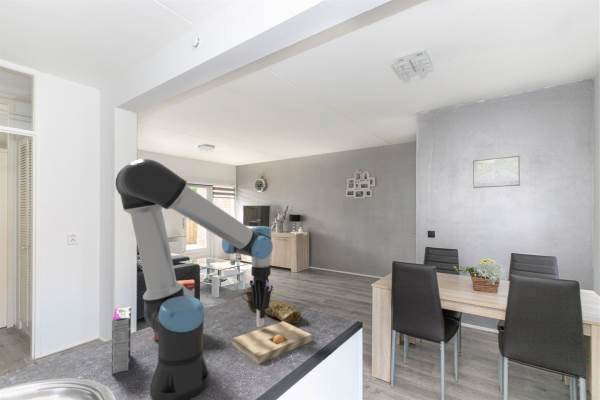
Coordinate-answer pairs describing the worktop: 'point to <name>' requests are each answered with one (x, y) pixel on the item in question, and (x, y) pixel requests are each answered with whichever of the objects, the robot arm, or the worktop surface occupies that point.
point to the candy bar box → (121, 340)
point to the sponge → (283, 312)
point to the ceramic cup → (249, 299)
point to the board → (270, 341)
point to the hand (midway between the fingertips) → (260, 325)
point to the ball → (278, 339)
